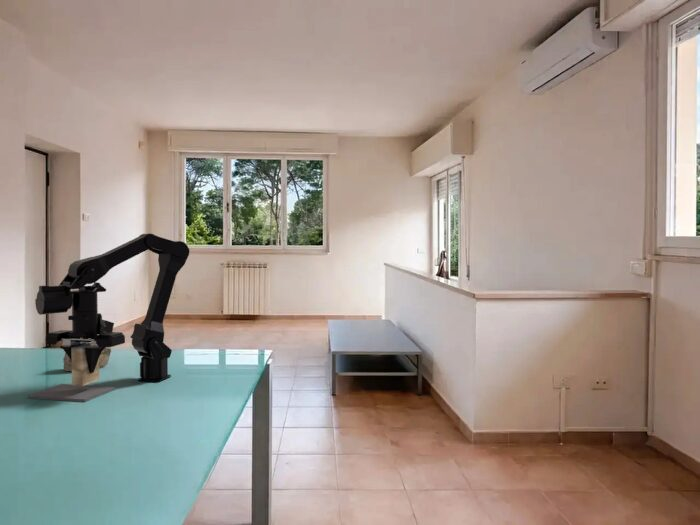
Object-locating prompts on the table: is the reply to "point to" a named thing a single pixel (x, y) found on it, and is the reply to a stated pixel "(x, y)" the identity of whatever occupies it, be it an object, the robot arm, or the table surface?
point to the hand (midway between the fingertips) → (85, 372)
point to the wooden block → (82, 367)
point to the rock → (102, 359)
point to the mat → (71, 392)
